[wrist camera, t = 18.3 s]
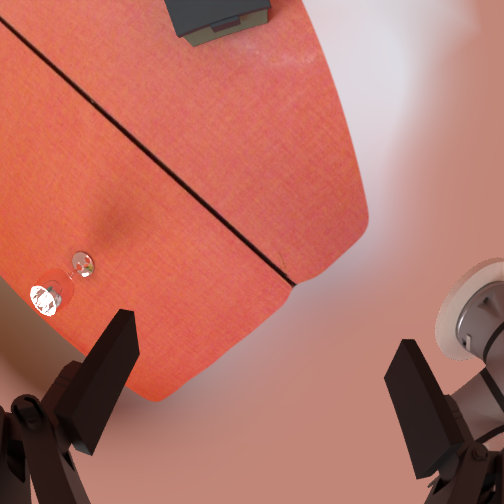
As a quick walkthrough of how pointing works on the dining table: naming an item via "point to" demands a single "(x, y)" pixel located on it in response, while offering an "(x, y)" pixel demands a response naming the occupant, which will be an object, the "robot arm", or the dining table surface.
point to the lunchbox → (215, 17)
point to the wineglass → (59, 285)
